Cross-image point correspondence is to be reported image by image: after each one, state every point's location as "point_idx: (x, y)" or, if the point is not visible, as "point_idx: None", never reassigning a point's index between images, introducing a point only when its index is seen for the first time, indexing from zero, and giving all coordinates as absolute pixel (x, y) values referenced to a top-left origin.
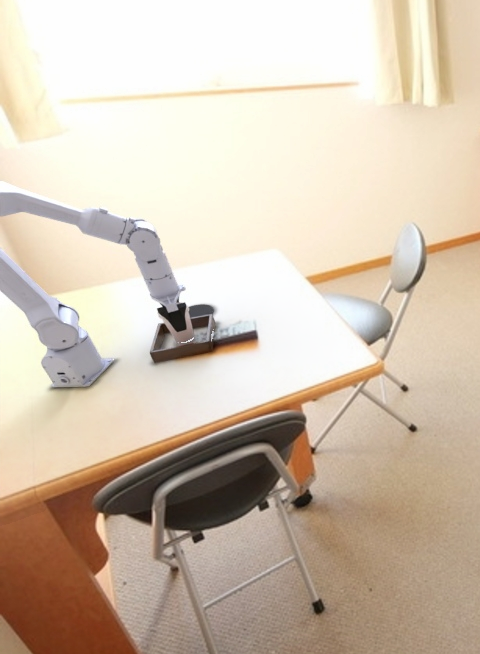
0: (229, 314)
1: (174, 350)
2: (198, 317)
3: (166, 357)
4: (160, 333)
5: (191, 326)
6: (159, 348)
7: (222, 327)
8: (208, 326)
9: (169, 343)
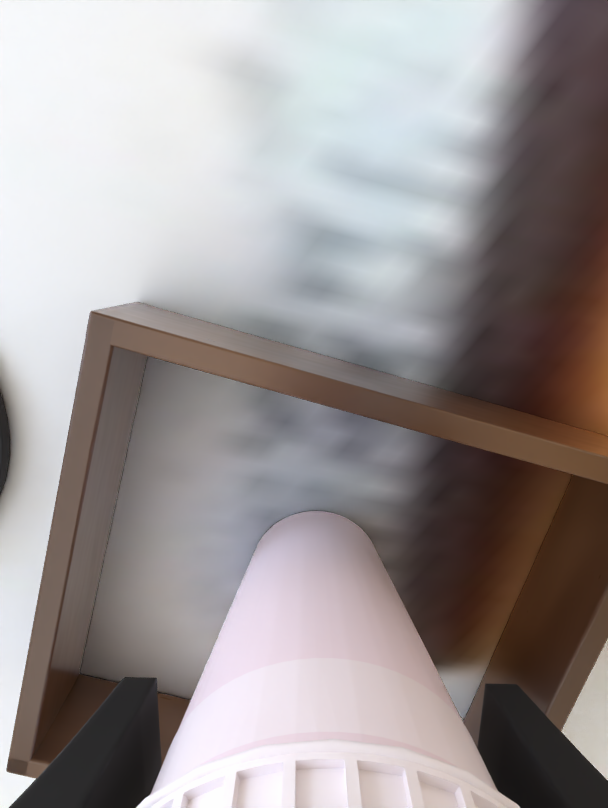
0: (16, 131)
1: None
2: (92, 458)
3: None
4: None
5: (364, 590)
6: None
7: (252, 265)
8: (375, 413)
9: None
